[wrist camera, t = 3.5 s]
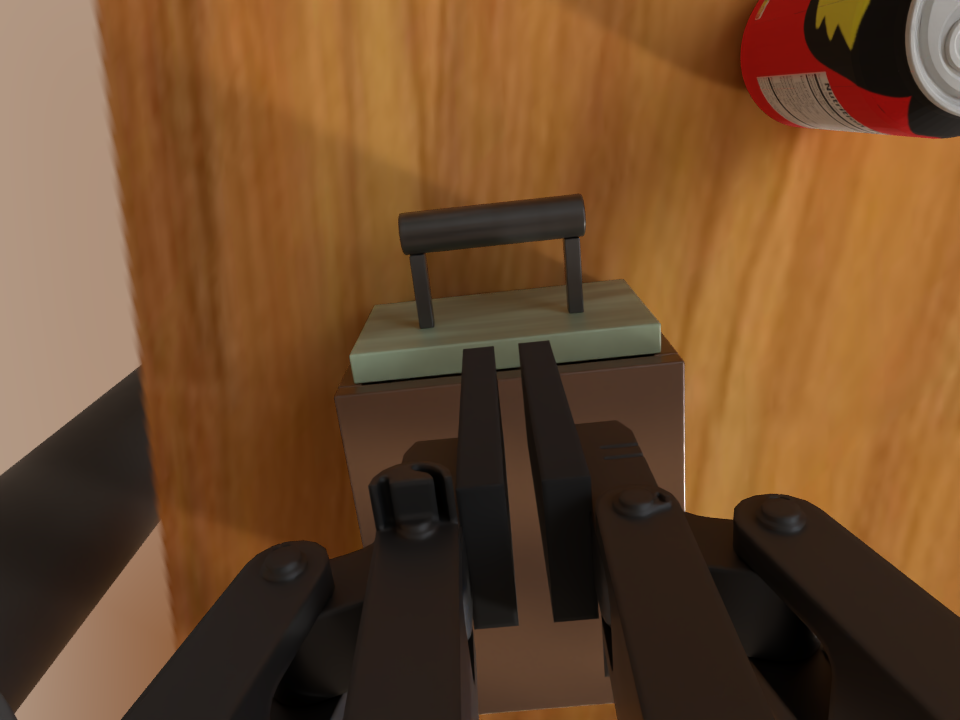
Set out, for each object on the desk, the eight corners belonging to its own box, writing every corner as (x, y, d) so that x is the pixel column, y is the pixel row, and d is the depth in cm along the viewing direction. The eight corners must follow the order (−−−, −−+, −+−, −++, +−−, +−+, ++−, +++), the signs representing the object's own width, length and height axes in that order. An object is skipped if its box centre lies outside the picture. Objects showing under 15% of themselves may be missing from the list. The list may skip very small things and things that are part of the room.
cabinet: (368, 324, 34) (333, 396, 26) (633, 296, 33) (685, 361, 25) (413, 591, 39) (396, 722, 31) (642, 571, 39) (686, 698, 31)
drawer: (357, 204, 31) (325, 231, 24) (620, 175, 30) (659, 195, 24) (416, 565, 37) (404, 663, 31) (633, 545, 37) (666, 639, 31)
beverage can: (910, 52, 30) (1175, 22, 18) (786, 157, 31) (961, 190, 20) (828, -74, 28) (1063, -190, 17) (701, 44, 30) (839, 10, 18)
